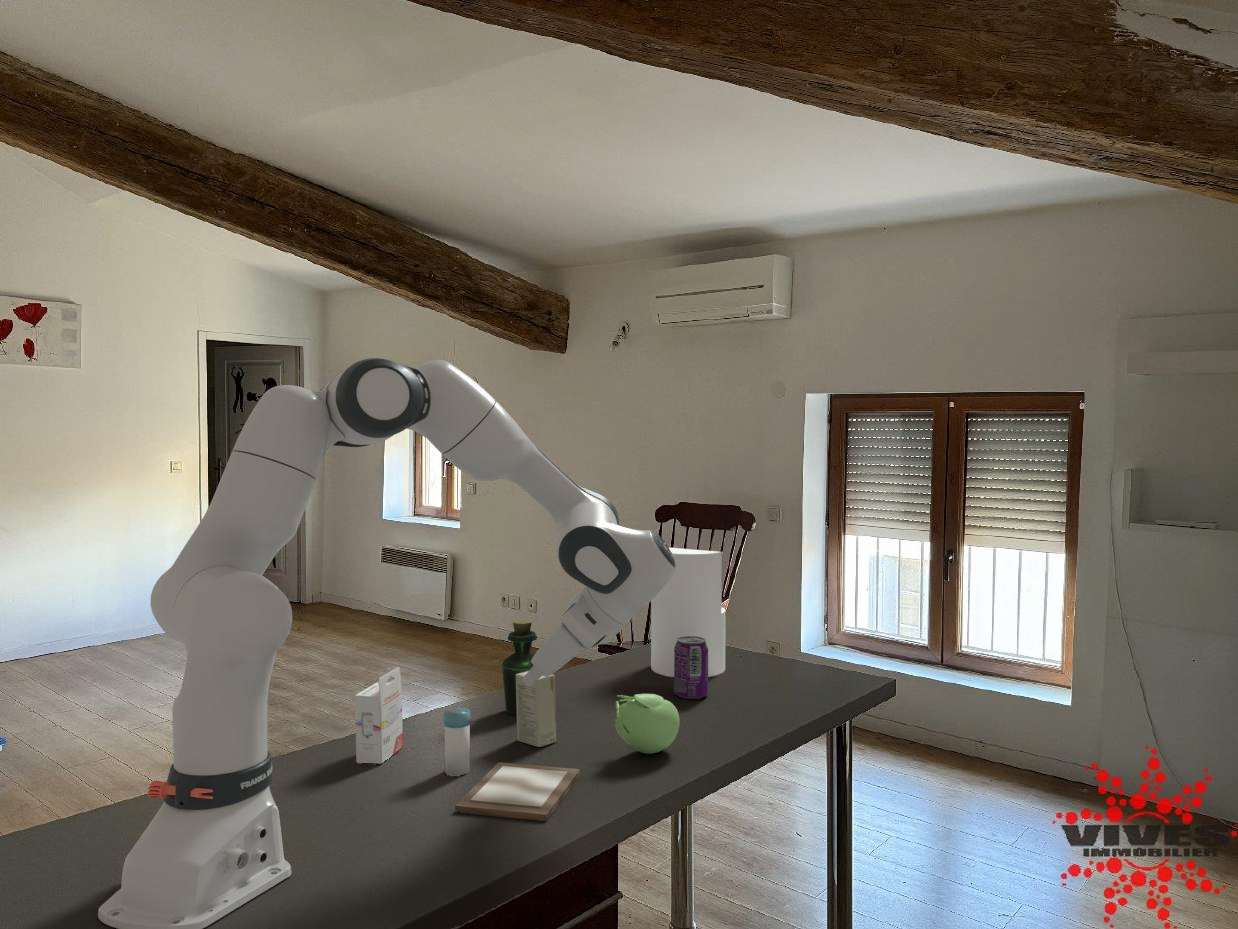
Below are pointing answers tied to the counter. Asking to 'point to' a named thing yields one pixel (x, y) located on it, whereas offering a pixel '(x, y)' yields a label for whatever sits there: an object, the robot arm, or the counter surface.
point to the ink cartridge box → (379, 719)
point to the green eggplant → (647, 722)
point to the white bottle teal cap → (457, 741)
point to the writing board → (519, 791)
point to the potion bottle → (517, 661)
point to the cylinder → (689, 610)
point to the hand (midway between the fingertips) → (536, 674)
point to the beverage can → (691, 667)
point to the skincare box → (536, 710)
